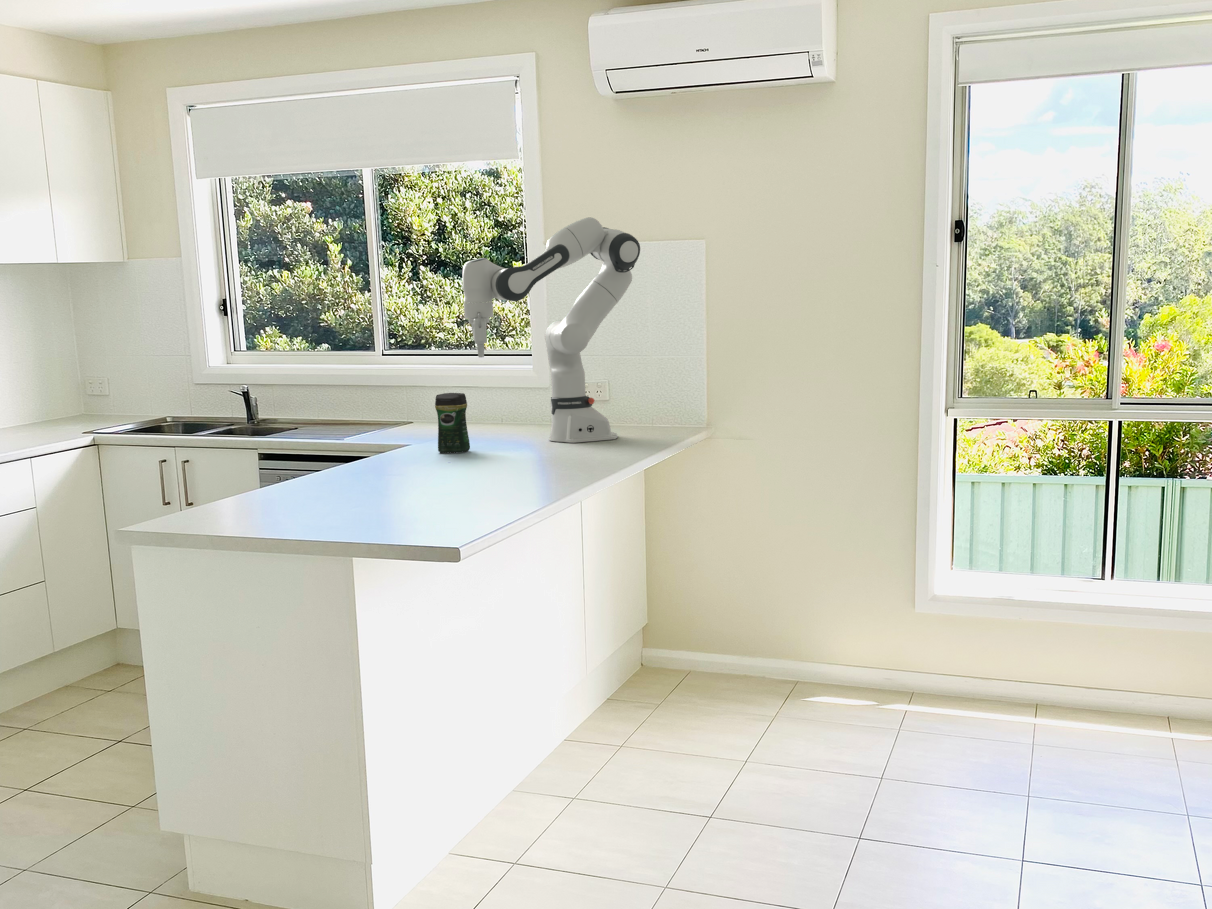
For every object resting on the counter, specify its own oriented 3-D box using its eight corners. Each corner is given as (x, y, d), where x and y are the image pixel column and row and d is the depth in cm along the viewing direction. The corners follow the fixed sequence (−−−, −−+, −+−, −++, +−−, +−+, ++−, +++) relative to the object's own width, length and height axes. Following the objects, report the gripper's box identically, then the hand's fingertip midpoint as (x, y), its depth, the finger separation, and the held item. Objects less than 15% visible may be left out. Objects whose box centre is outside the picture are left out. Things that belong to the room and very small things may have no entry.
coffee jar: (473, 450, 344) (469, 391, 341) (463, 454, 336) (460, 393, 334) (444, 450, 346) (441, 391, 344) (434, 454, 339) (430, 394, 336)
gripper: (489, 312, 327) (492, 358, 329) (488, 311, 347) (490, 354, 349) (468, 313, 326) (471, 359, 328) (468, 312, 346) (470, 355, 348)
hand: (481, 357), depth 338 cm, fingers closed
